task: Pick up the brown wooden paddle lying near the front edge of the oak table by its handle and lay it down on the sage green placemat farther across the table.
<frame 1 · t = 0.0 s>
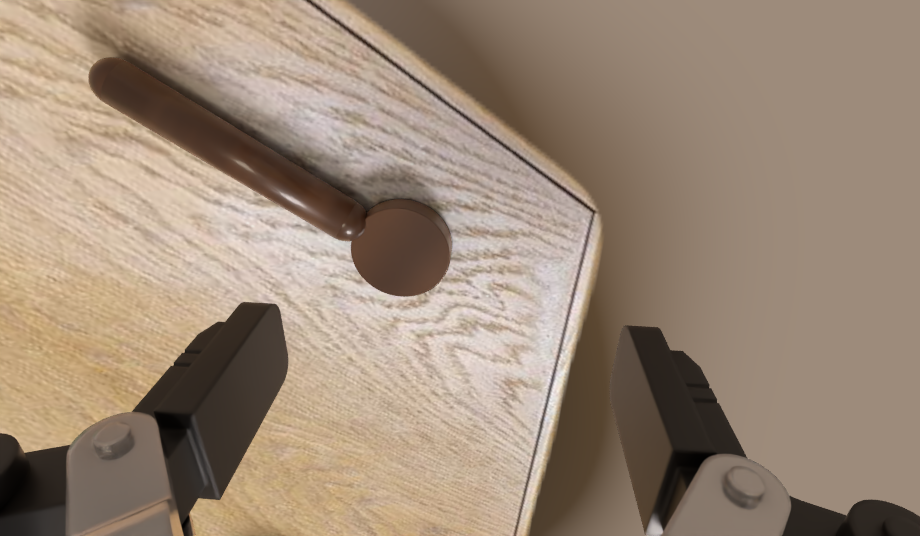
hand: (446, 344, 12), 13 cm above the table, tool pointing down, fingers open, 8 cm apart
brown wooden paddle: (286, 172, 24), on the table
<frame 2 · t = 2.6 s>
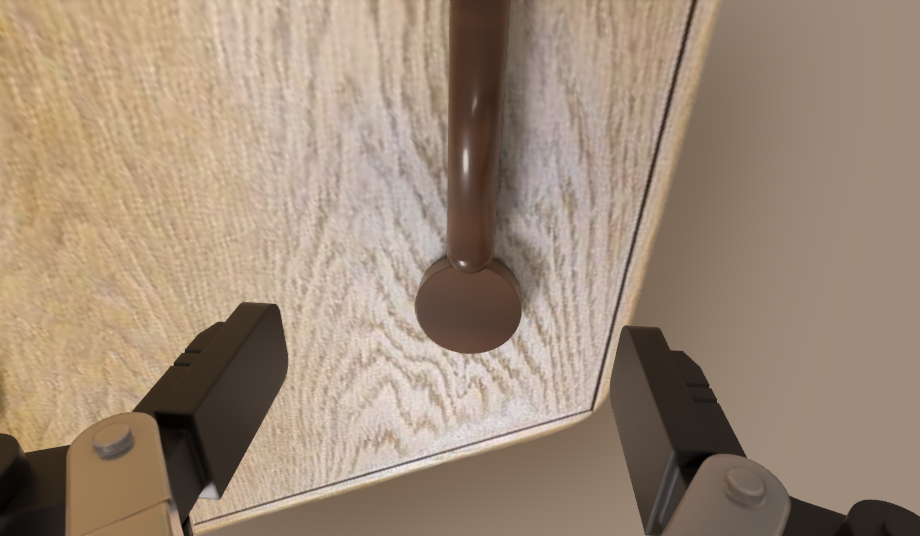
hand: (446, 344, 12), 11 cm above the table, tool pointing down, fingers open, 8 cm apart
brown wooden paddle: (474, 163, 21), on the table
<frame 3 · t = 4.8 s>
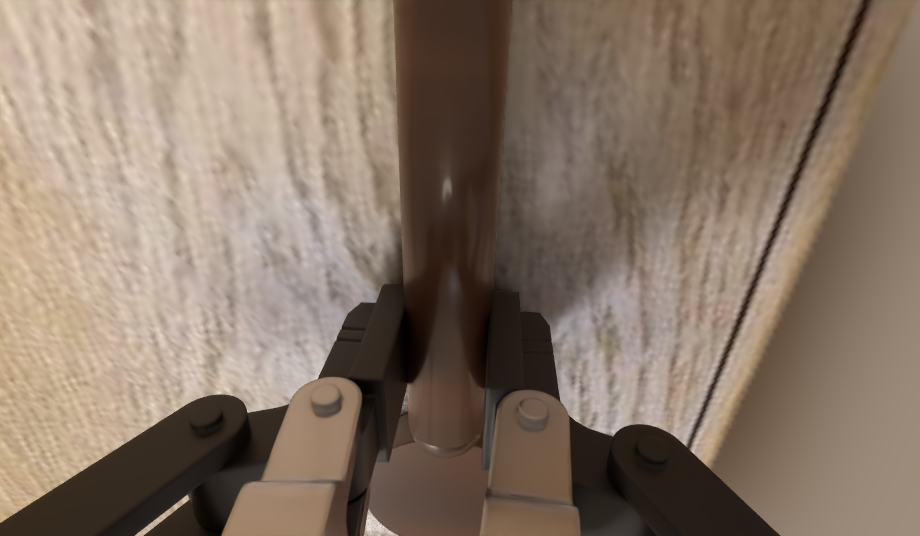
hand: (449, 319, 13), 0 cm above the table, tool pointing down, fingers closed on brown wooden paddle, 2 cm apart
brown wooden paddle: (452, 283, 13), on the table, touching gripper
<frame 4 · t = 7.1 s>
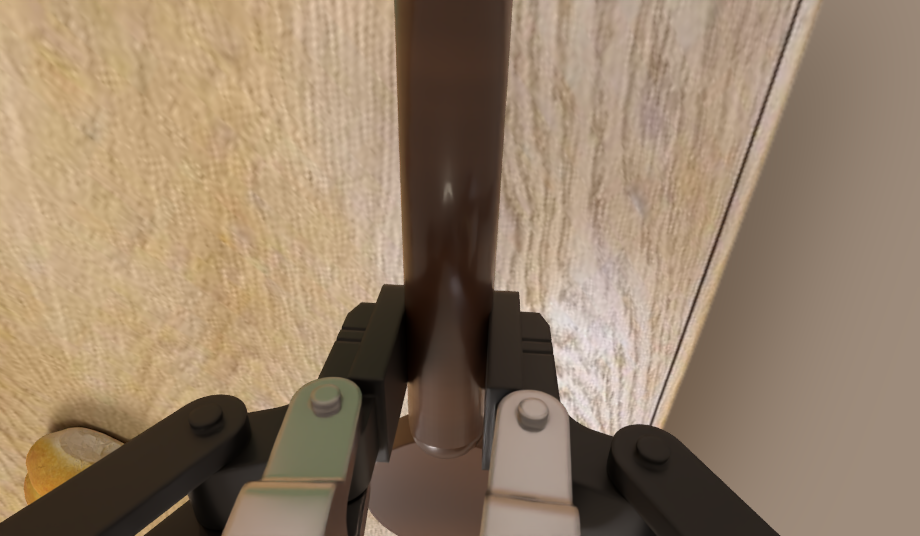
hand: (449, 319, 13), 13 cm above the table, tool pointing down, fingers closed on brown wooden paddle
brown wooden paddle: (452, 284, 13), point 13 cm above the table, touching gripper
bread roll: (100, 462, 38), on the table
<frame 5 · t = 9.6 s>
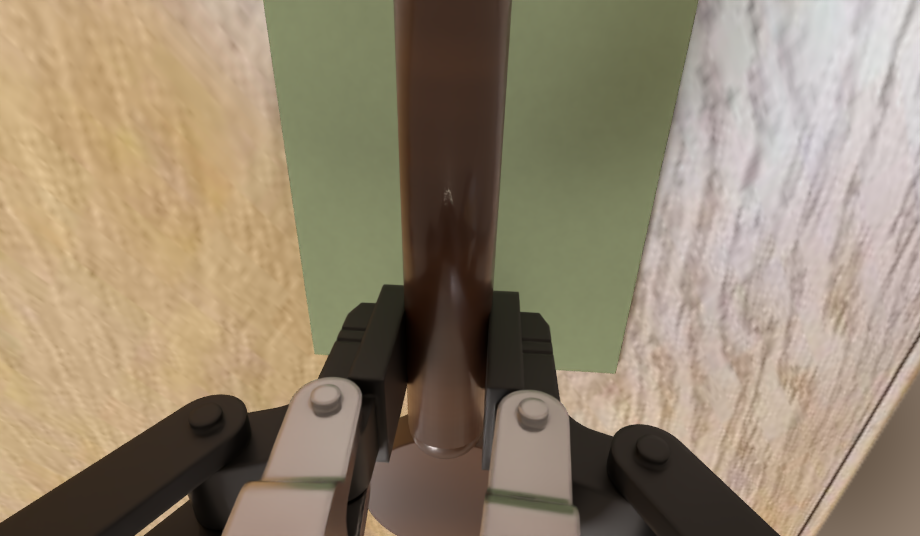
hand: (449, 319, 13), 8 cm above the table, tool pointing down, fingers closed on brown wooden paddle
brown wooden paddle: (451, 284, 13), point 8 cm above the table, touching gripper
placemat: (469, 174, 20), on the table
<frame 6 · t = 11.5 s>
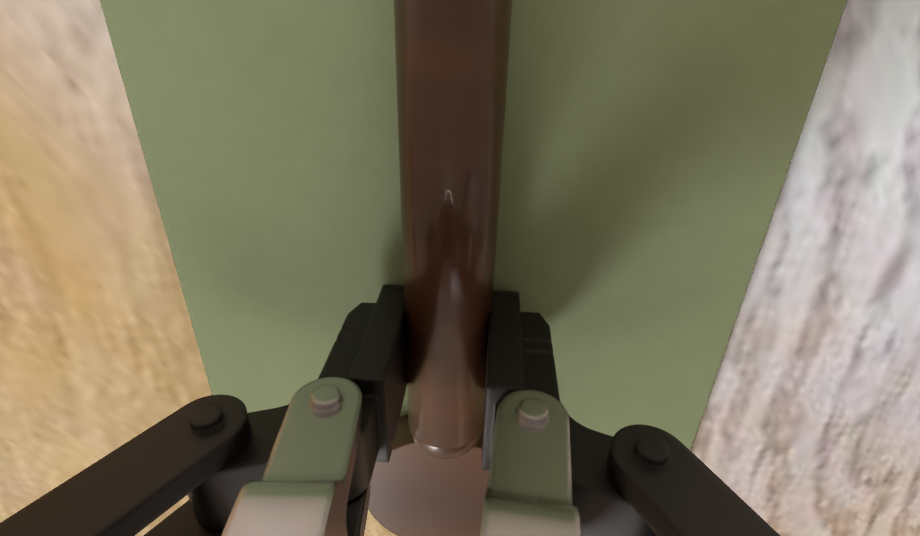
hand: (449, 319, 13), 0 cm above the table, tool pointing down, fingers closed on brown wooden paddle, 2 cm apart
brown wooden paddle: (452, 284, 13), resting on placemat, touching gripper
placemat: (452, 276, 13), on the table
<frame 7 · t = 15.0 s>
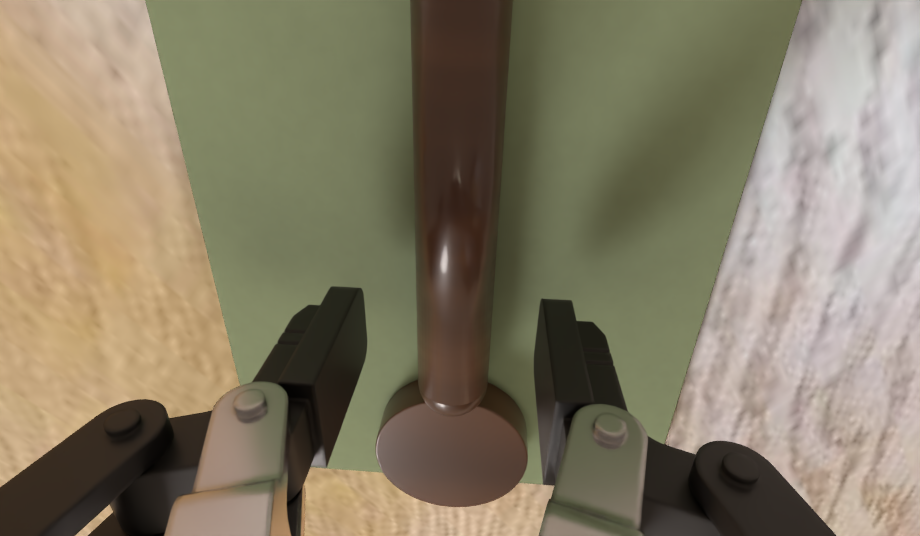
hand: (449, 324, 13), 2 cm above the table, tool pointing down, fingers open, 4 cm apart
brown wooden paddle: (458, 256, 14), resting on placemat
placemat: (456, 248, 14), on the table
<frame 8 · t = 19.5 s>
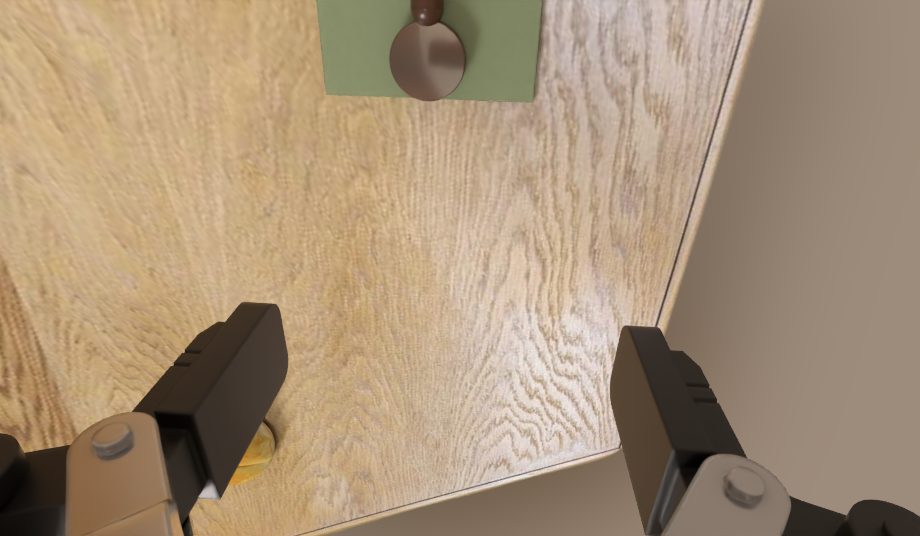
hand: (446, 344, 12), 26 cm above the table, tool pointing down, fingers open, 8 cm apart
bread roll: (236, 434, 53), on the table
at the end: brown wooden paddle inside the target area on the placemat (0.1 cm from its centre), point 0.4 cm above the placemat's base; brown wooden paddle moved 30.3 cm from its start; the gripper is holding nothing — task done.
